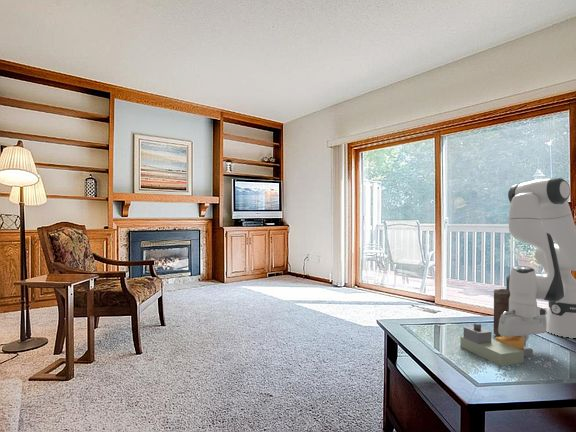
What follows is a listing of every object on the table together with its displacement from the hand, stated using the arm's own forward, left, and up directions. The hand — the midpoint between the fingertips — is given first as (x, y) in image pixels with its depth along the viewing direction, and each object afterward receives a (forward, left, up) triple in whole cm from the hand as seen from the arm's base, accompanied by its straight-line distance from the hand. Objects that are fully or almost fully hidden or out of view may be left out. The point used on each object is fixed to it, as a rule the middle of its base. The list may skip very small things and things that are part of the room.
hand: (522, 346), depth 131 cm
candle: (-6, -13, -2) cm, 15 cm away
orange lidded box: (+6, 0, -2) cm, 6 cm away
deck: (+10, 0, -2) cm, 10 cm away
